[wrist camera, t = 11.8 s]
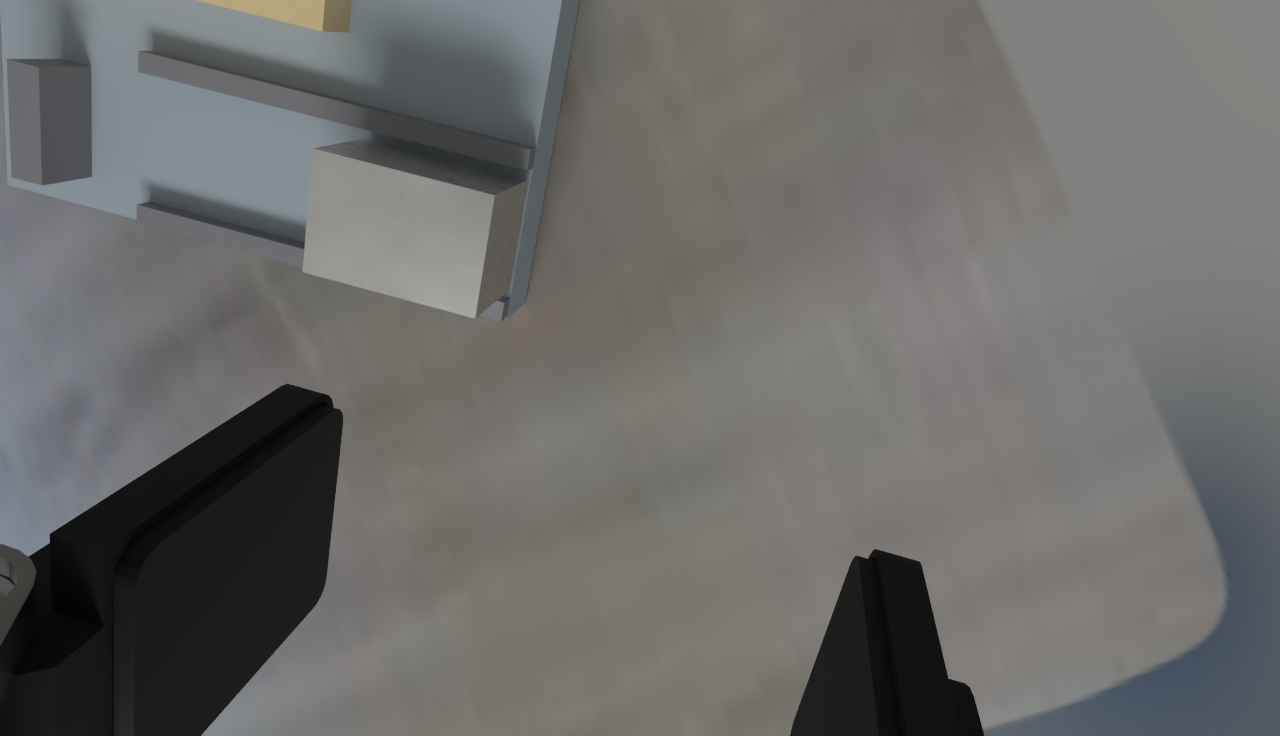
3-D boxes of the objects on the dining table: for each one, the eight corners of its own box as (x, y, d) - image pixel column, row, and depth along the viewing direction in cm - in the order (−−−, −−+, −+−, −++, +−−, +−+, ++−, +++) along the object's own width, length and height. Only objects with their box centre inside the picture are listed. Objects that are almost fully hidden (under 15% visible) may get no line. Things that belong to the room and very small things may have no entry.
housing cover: (353, 249, 27) (302, 272, 24) (364, 138, 26) (312, 148, 23) (509, 290, 27) (475, 318, 24) (528, 180, 26) (494, 195, 23)
